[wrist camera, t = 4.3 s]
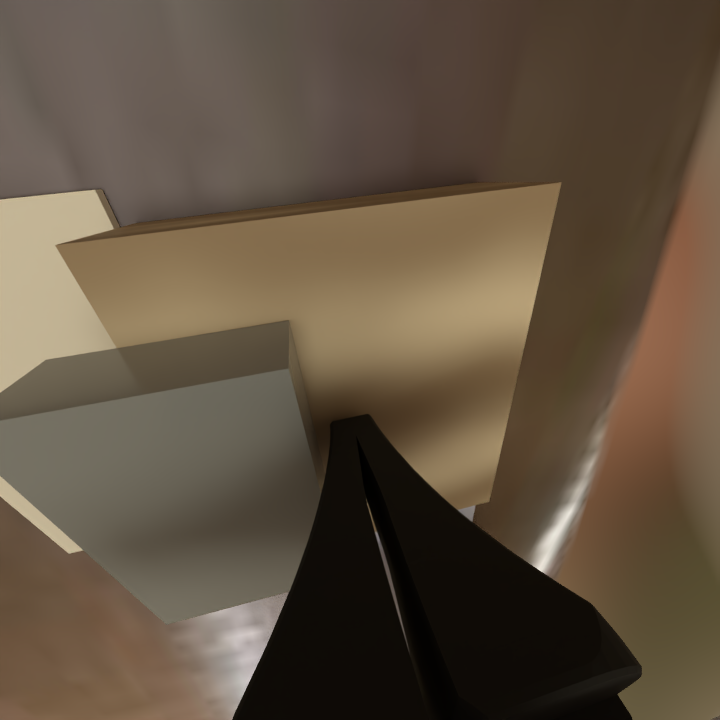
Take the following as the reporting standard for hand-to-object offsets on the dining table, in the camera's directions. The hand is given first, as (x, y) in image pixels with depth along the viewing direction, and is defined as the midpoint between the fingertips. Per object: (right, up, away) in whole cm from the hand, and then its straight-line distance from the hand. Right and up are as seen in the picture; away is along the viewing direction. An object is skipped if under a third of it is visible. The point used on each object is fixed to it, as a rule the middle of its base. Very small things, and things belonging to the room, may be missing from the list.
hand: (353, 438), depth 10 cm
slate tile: (-4, -1, 0) cm, 4 cm away
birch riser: (0, +2, +4) cm, 5 cm away
